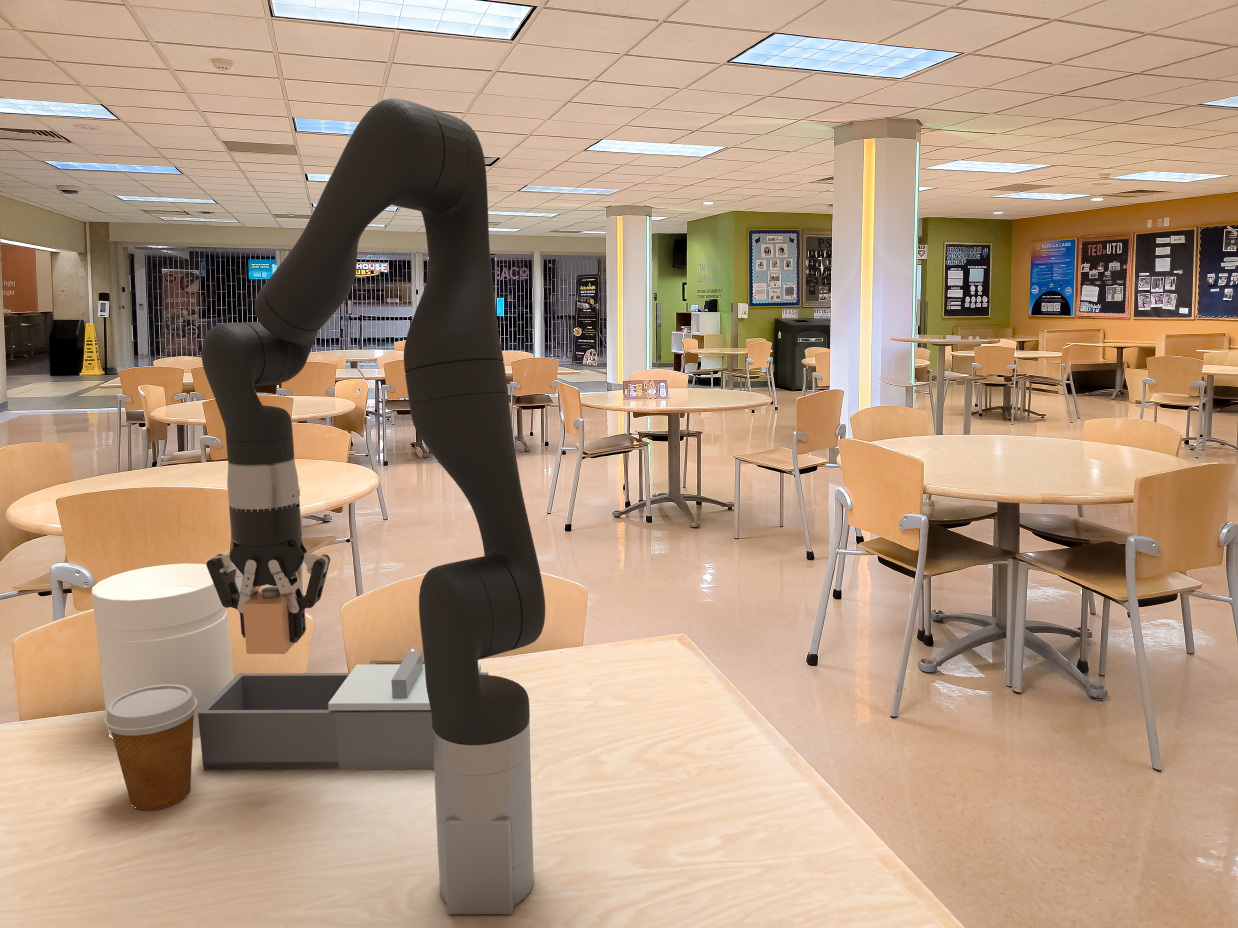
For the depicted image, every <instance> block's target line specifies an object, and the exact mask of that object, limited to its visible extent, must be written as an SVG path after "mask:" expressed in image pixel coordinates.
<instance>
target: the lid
mask: <svg viewBox="0 0 1238 928" xmlns="http://www.w3.org/2000/svg"><path fill="white" fill-rule="evenodd" d="M402 661H403V662H402V663H401V664H369V663H368V664H356V665H355V666H354V667H353V669H352V670H351V671H350V672H349V673H350V674H349V676H348V677H347V678H346V680H345V681H344V682H343V684H342V685H341V686H340V688H339V689H338V691H337V692H336V693H335V695H334V696H333V697H332V699H331V700H330V702H329V703H328V710H431V708H430V703H429V699H428V694H427V688H426V677H425V664H423V661H424V657H423V650H422V651H418V652H408V651H407V654H406V656H405V657H404V659H403V660H402ZM478 668H479V674H480V672H481V671H482V663H478Z"/></svg>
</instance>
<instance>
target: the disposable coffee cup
mask: <svg viewBox="0 0 1238 928" xmlns="http://www.w3.org/2000/svg"><path fill="white" fill-rule="evenodd" d="M197 705H198V702H197V699H196V698H195V697H194V696H193V693H192V691H191V690H190V689H189V688H188V687H185V686H182V685H172V684H165V685H155V686H149V687H144V688H140V689H137V690H134V691H131V692H128V693H126V694H123V695H121V696H120V697H118V698H116V699H115V700H114V701H112V702H111V703H110V705H109V706H108V712H107V715H106V714H105V716H104V719H103V721H104V724H105V726H106V727H107V730H108V729H109V730H110V731H111V733H112V737H113V740H112V741H113V743H114V748H115V750H116V755H117V759H118V761H119V765H120V770H121V773H122V776H123V777H122V778H123V781H124V783H125V788H126V791H127V795H128V798H129V801H130V802H131V803H130V805H131V804H132V805H133V806H134V807H136V808H139V809H138V810H140V809H146V810H145V811H152V810H151V809H155V810H159V809H160V810H161V809H164V808H167V807H170V806H173V805H175V804H177V803H179V802H181V801H182V800H184V799H185V798H186V797H188V795H189V794H190V793H191V786H192V784H191V782H192V763H193V762H192V760H193V759H192V758H193V744H194V743H193V739H194V738H193V720H194V713H195V709H196V707H197ZM132 805H131V806H132ZM134 807H133V808H134ZM136 808H135V809H136Z"/></svg>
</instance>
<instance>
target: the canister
mask: <svg viewBox="0 0 1238 928" xmlns="http://www.w3.org/2000/svg"><path fill="white" fill-rule="evenodd" d="M91 599H92V607H93V613H94V614H93V615H94V624H95V625H96V641H97V642H96V643H97V650H98V657H99V665H100V675H101V683H102V684H101V685H102V690H103V691H102V692H103V700H104V707H105V716H106V715H107V712H108V706H109V705H110V703H111V702H112V701H114V700H115V699H116V698H118V697H120V696H121V695H123V694H126V693H128V692H131V691H134V690H137V689H140V688H144V687H149V686H155V685H165V684H172V685H182V686H185V687H188V688H189V689H190V690H191V691H192V693H193V696H194V697H195V698H196V699H197V702H198V705H197V707H196V709H195V713H194V720H193V737H196V738H198V737H200V729H199V719H198V713H199V712H200V711H201V710H202V709H203V708H204V707H205V706H206V705H207V704H208V703H209V702H210V701H211V700H212V699H213V698H214V697H215V696H216V695H217V694H218V693H219V692H220V691H221V690H222V689H223V688H224V687H225V686H226V685H227V684H229V683H230V682H231V681H232V680H233V679H234V670H233V659H232V647H231V638H230V637H231V636H230V626H229V625H230V623H229V614H228V610H227V608H225V607H224V606H223V605H222V603H221V601H220V598H219V596H218V593H217V591H216V588H215V586H214V583H213V581H212V578H211V576H210V573H209V571H208V568H207V566H206V564H203V563H172V564H161V565H154V566H147V567H146V566H145V567H142V568H136V569H132V570H128V571H125V572H120V573H117V574H114V575H110V576H109V577H106V578H104V579H102V580H100V581H98V582H97V583H96V584H95V585H93V586H92V587H91ZM108 733H109V734H110V735H111V736H112V733H111V731H110V730H109V729H108V728H107V734H108ZM197 736H198V737H197Z"/></svg>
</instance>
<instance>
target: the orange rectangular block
mask: <svg viewBox="0 0 1238 928" xmlns="http://www.w3.org/2000/svg"><path fill="white" fill-rule="evenodd" d="M289 612H290V611H289V609H288V606H287V599H285V598H284V597H283V596H282V595H281V594H280V591H279V589H278V586H268V587H261V588H260V589H259V592H258V593H257V594H254V595H253V596H252V598H251V599H248V600H247V601H246V602H245V603H243V615H244V627H245V638H244V639H245V649H246V651H245V652H246V655H247V654H249V655H259V654H260V655H285V654H287V653H288V651H289V650H290V649H291V648H292V647H293V646H294V645H295V644H296V643H291V642H290V636H289V621H288V613H289Z"/></svg>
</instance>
